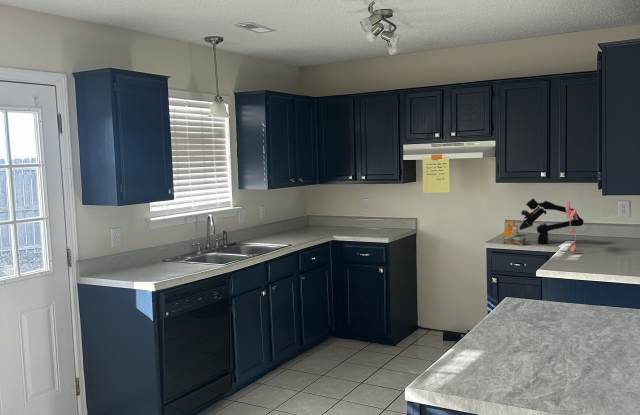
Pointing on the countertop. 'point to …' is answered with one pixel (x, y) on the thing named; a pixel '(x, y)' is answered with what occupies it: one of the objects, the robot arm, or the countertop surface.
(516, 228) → the wooden pepper mill
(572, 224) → the robot arm
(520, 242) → the green slab with socket
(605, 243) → the countertop surface
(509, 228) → the bracket
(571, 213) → the figurine
